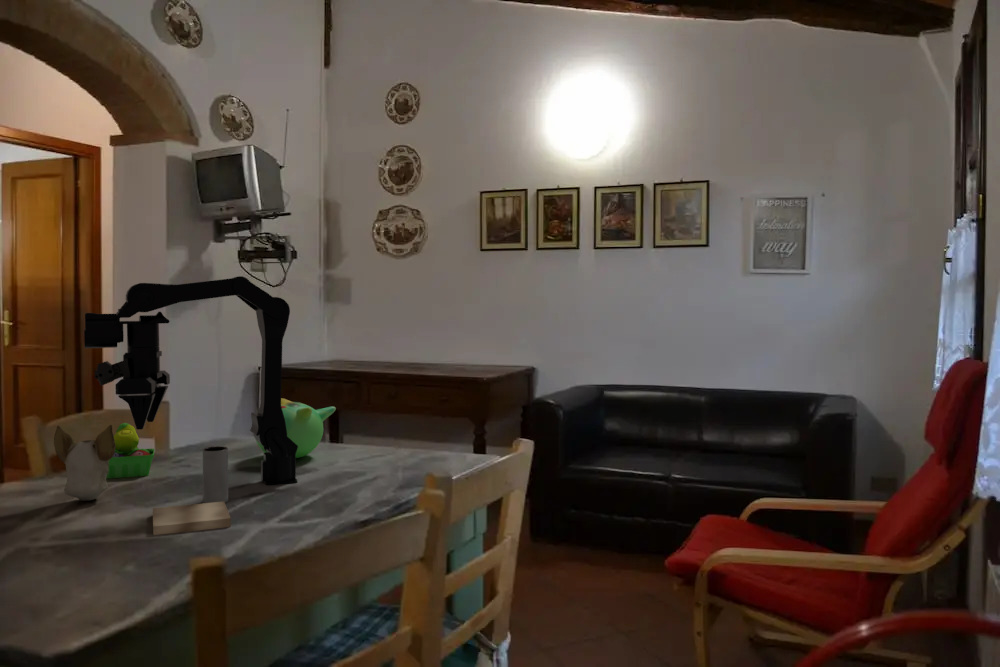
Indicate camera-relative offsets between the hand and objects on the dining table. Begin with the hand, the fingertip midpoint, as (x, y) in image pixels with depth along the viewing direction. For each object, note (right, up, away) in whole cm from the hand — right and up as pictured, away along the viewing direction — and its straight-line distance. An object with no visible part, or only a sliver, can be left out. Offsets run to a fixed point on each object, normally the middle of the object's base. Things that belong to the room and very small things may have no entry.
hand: (145, 425), depth 148 cm
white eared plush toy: (-8, -14, -6) cm, 17 cm away
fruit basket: (-12, -13, +17) cm, 25 cm away
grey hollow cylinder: (+16, -14, -4) cm, 22 cm away
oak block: (+16, -15, -17) cm, 28 cm away
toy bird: (+19, -13, +37) cm, 43 cm away
